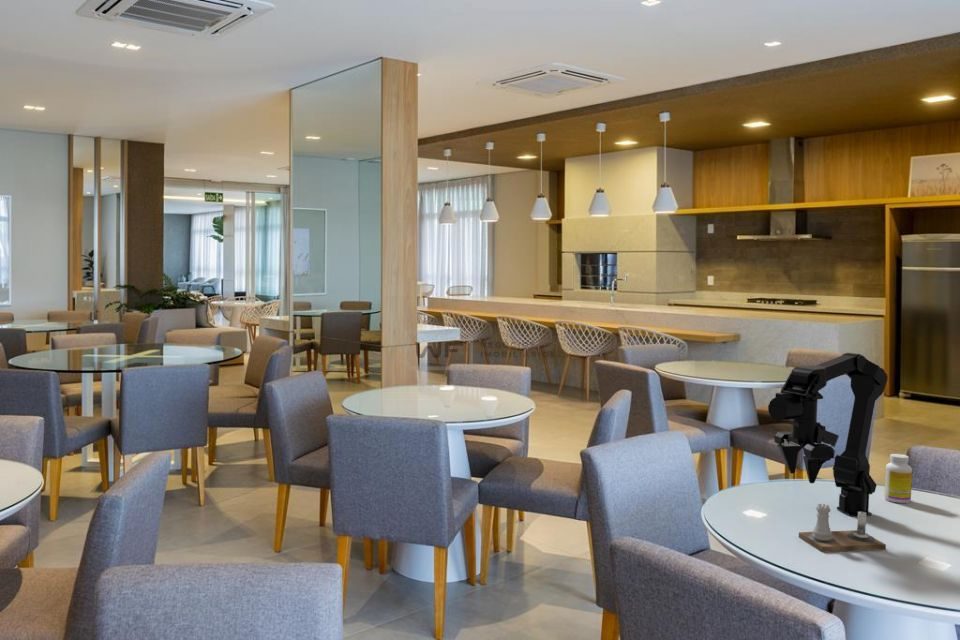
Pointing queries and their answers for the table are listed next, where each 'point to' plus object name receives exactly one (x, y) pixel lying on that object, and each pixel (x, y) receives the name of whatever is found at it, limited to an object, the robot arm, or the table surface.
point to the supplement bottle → (898, 479)
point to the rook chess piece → (822, 524)
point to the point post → (861, 526)
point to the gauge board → (843, 542)
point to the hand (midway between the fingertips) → (802, 478)
